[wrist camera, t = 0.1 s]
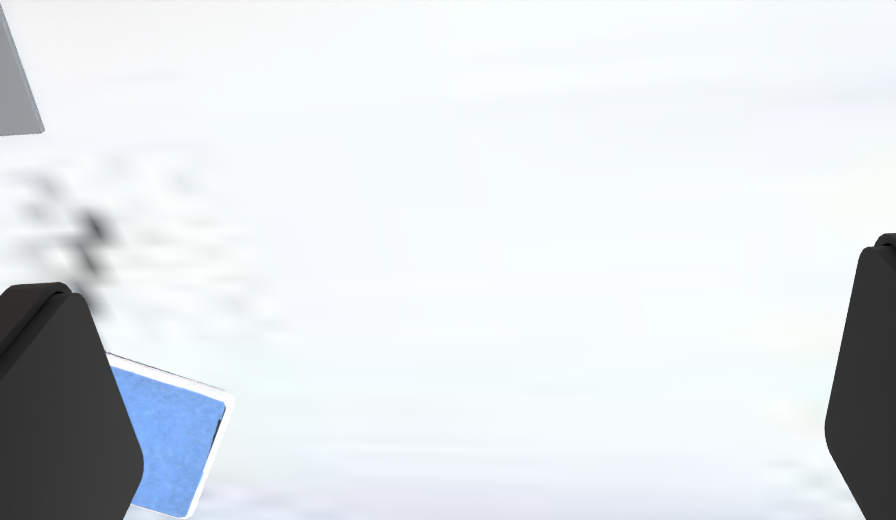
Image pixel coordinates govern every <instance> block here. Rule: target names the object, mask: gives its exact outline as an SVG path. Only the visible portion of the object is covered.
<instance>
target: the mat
mask: <svg viewBox="0 0 896 520" xmlns="http://www.w3.org/2000/svg"><path fill="white" fill-rule="evenodd" d="M44 131H45V129H44V126H43V123H42V121H41V118H40V115H39V112H38V109H37V107H36V104H35V101H34V98H33V95H32V92H31V90H30V87H29V84H28V81H27V78H26V75H25V73H24V70H23V67H22V64H21V61H20V58H19V56H18V53H17V50H16V47H15V44H14V41H13V39H12V36H11V33H10V30H9V27H8V24H7V22H6V19H5V16H4V13H3V10H2V7H1V5H0V136H9V135H24V134H39V133H42V132H44Z"/></svg>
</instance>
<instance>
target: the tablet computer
mask: <svg viewBox="0 0 896 520" xmlns="http://www.w3.org/2000/svg"><path fill="white" fill-rule="evenodd" d="M106 356H107V359H108V361H109V364H110V367H111V369H112V372H113V375H114V377H115V380H116V383H117V385H118V388H119V391H120V393H121V396H122V399H123V401H124V404H125V407H126V409H127V412H128V415H129V417H130V420H131V423H132V425H133V428H134V431H135V434H136V436H137V439H138V442H139V444H140V447H141V450H142V453H143V457H144V471H143V476H142V480H141V482H140V485H139V487H138V489H137V491H136V493H135V495H134V497H133V499H132V502H131V504H130V505H133V506H137V507H140V508H144V509H147V510H150V511H154V512H157V513H160V514H164V515H167V516H171V517H174V518H177V519H185V518H188V517H190V516H191V515H192V514H193V512H194V510H195V508H196V506H197V503H198V500H199V497H200V495H201V492H202V490H203V487H204V484H205V482H206V478H207V476H208V473H209V471H210V468H211V466H212V463H213V460H214V458H215V455H216V452H217V450H218V447H219V445H220V442H221V439H222V437H223V434H224V431H225V429H226V426H227V424H228V421H229V419H230V416H231V413H232V411H233V409H234V406H235V399H234V397H233V396H232V395H231V394H230V393H229V392H227V391H225V390H222V389H219V388H216V387H213V386H210V385H207V384H204V383H201V382H197V381H194V380H191V379H187V378H184V377H180V376H177V375H174V374H171V373H167V372H164V371H161V370H158V369H154V368H151V367H148V366H145V365H142V364H139V363H136V362H133V361H130V360H126V359H123V358H120V357H117V356H114V355H111V354H108V353H106Z"/></svg>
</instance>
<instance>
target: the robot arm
mask: <svg viewBox="0 0 896 520" xmlns="http://www.w3.org/2000/svg"><path fill="white" fill-rule="evenodd" d="M825 438H826V443H827V446H828V449H829V452H830V454H831V456H832V458H833V460H834V461H835V463H836V465H837V467H838V469H839V471H840V473H841V474H842V476H843V478H844V480H845V482H846V484H847V485H848V487H849V489H850V491H851V493H852V495H853V496H854V498H855V500H856V502H857V504H858V506H859V507H860V509H861V511H862V513H863V515H864V517H865V518H866V520H896V233H887V234H883V235H881V236H880V237H879V238H878V240H877V241H876V243H875V245H874V247H866V248H865V249H863V251H862V252H861V254H860V257H859V260H858V265H857V269H856V274H855V279H854V284H853V289H852V294H851V298H850V303H849V308H848V313H847V318H846V323H845V327H844V332H843V337H842V342H841V347H840V352H839V356H838V361H837V366H836V371H835V376H834V381H833V385H832V390H831V395H830V400H829V405H828V410H827V414H826V419H825ZM143 471H144V457H143V453H142V450H141V447H140V444H139V442H138V439H137V436H136V434H135V431H134V428H133V425H132V423H131V420H130V417H129V415H128V412H127V409H126V407H125V404H124V401H123V399H122V396H121V393H120V391H119V388H118V385H117V383H116V380H115V377H114V375H113V372H112V369H111V367H110V364H109V361H108V359H107V356H106V353H105V351H104V348H103V345H102V343H101V340H100V337H99V335H98V332H97V329H96V326H95V324H94V321H93V318H92V316H91V313H90V310H89V308H88V305H87V303H86V301H85V299H84V298H83V297H82V295H81V294H78V293H72V291H71V290H70V289H69V288H68V286H67V285H66V284H63V283H61V282H53V283H36V284H19V285H12V286H10V287H9V288H8V289H6V290H5V291H4V292H3V293H2V294H1V296H0V520H123V518H124V516H125V514H126V512H127V510H128V508H129V506H130V504H131V502H132V499H133V497H134V495H135V493H136V491H137V489H138V487H139V485H140V482H141V480H142V476H143Z"/></svg>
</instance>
